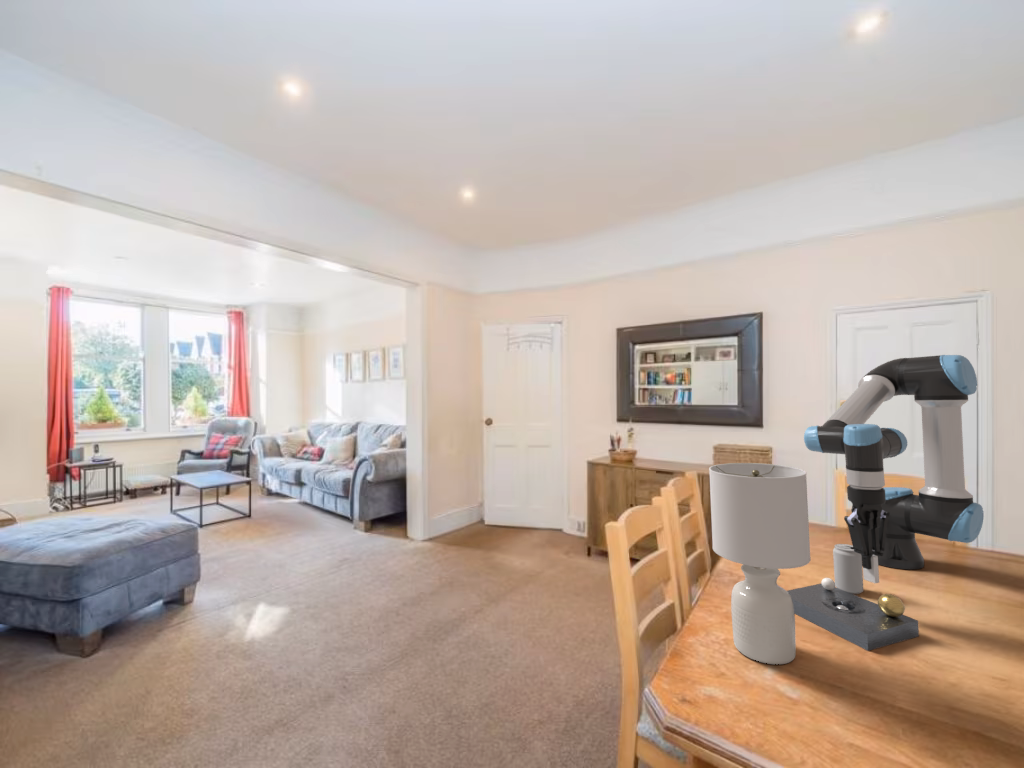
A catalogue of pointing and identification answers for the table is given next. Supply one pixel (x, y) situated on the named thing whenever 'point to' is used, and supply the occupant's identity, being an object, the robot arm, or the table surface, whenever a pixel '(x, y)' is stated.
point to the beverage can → (848, 569)
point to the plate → (851, 617)
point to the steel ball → (842, 607)
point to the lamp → (761, 550)
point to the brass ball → (891, 605)
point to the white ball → (828, 583)
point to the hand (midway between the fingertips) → (871, 580)
